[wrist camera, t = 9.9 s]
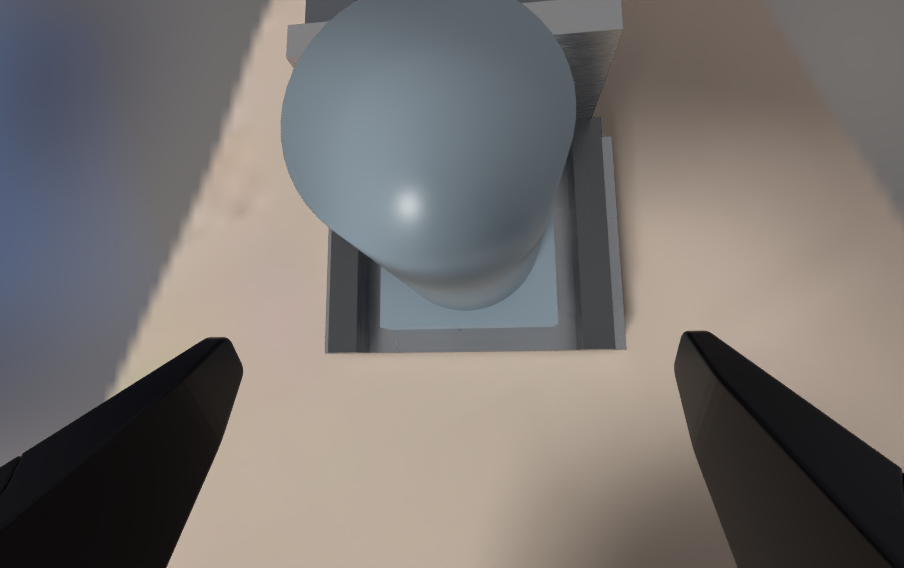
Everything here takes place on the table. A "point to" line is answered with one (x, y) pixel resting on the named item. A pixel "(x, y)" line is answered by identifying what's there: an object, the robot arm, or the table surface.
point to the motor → (574, 214)
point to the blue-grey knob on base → (438, 154)
